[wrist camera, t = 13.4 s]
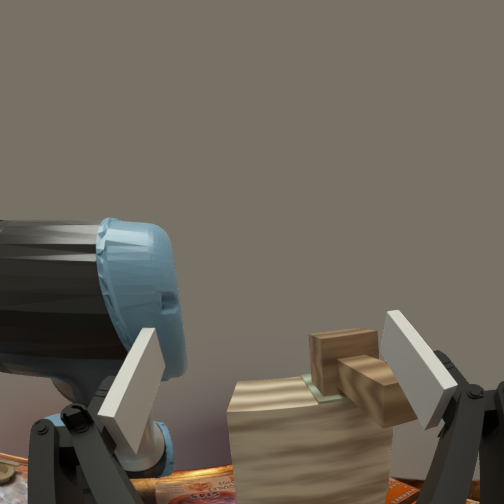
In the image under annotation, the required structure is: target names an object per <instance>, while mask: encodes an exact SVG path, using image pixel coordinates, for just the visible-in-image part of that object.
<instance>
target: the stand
mask: <svg viewBox="0 0 504 504" xmlns="http://www.w3.org/2000/svg"><path fill="white" fill-rule="evenodd" d="M227 419H228V429H229V437H230V447H231V455H232V464H233V473H234V481H235V488H236V496H237V503H238V504H385V500H386V494H387V487H388V479H389V471H390V461H391V450H392V437H393V426H392V427H388V428H385V429H383V428H382V427H381V426H380V425H378V424H377V423H376V422H375V421H374V420H373V419H372V418H371V417H369V416H368V415H367V414H366V413H365V412H364V411H363V410H362V409H361V408H360V407H358V406H357V405H356V404H355V403H354V402H353V401H352V400H351V399H350V398H349V397H347V396H346V395H345V394H339V395H333V396H326V397H323V395H322V394H321V393H320V392H319V390H318V389H317V388H316V386H315V385H314V384H313V382H312V381H311V373H310V374H301V377H293V378H282V379H270V380H256V381H238V382H237V385H236V388H235V391H234V394H233V396H232V399H231V402H230V404H229V407H228V410H227Z"/></svg>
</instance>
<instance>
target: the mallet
mask: <svg viewBox="0 0 504 504" xmlns="http://www.w3.org/2000/svg"><path fill="white" fill-rule="evenodd" d="M309 346H310V361H311V381H312V382H313V384H314V385H315V386H316V388H317V389H318V390H319V392H320V393H321V394H322V395H323V397H326V396H333V395H339V394H345V395H346V396H347V397H349V398H350V399H351V400H352V401H353V402H354V403H355V404H356V405H357V406H358V407H360V408H361V409H362V410H363V411H364V412H365V413H366V414H367V415H368V416H369V417H371V418H372V419H373V420H374V421H375V422H376V423H377V424H378V425H380V426H381V427H382V428H383V429H385V428H388V427H392V426H396V425H399V424H403V423H406V422H410V421H413V420H416V419H418V417H417V416H416V414H415V412H414V410H413V408H412V406H411V404H410V403H409V401H408V399H407V397H406V395H405V394H404V392H403V390H402V388H401V386H400V385H399V383H398V381H397V379H396V378H395V376H394V374H393V372H392V371H391V369H390V367H389V365H388V364H387V362H384V361H381V360H379V350H378V332H377V331H375V330H367V329H358V328H353V329H346V330H338V331H331V332H322V333H314V334H309Z"/></svg>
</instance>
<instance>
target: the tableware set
mask: <svg viewBox="0 0 504 504" xmlns="http://www.w3.org/2000/svg"><path fill="white" fill-rule="evenodd" d="M13 466H15V467H19V466H20V463H18V462H12V461H6V460H1V459H0V484H3V483H6V482H8V481H9V480H10V477H12V476H13V474H14V472H15V470H14V467H13Z"/></svg>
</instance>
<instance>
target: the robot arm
mask: <svg viewBox="0 0 504 504" xmlns="http://www.w3.org/2000/svg"><path fill="white" fill-rule="evenodd" d="M380 352H381V353H382V355H383V357H384V359H385V360H386V362H387V364H388V365H389V367H390V369H391V371H392V372H393V374H394V376H395V378H396V379H397V381H398V383H399V385H400V386H401V388H402V390H403V392H404V394H405V395H406V397H407V399H408V401H409V403H410V404H411V406H412V408H413V410H414V412H415V414H416V416H417V417H418V419H419V421H420V423H421V425H422V427H423V429H424V430H427V429H430V428H433V427H436V426H438V424H439V422H440V420H441V419H442V418H443V420H444V422H445V424H444V426H443V428H442V430H441V431H440V433H439V435H438V437H440V439H439V442H438V445H437V449H436V452H435V455H434V458H433V461H432V464H431V466H430V469H429V472H428V475H427V477H426V480H425V482H424V485H423V487H422V490H421V492H420V494H419V497H418V499H417V501H416V504H465V503H466V500H467V497H468V493H469V490H470V486H471V482H472V478H473V474H474V470H475V466H476V461H477V456H478V451H479V460H480V504H504V381H503V382H501V383H500V384H499V385H498V388H497V389H496V390H489V391H484V389H483V388H481V387H480V386H478V385H475V384H469V383H468V382H467V381H466V379H465V378H464V377H463V376H462V374H461V373H460V372H459V371H458V369H457V368H456V367H455V366H454V364H453V363H451V360H450V359H449V358H448V357H447V356H446V355H445V354H444V353H442V352H440V351H439V350H437V351H432V350H431V349H430V348H429V346H428V345H427V344H426V343H425V341H424V340H423V339H422V338H421V337H420V335H419V334H418V333H417V332H416V330H415V329H414V328H413V327H412V325H411V324H410V323H409V322H408V321H407V319H406V318H405V317H404V316H403V315H402V314H401V312H400V311H399V310H394V311H387V314H386V320H385V326H384V332H383V337H382V342H381V347H380ZM186 370H187V354H186V345H185V338H184V329H183V322H182V314H181V306H180V299H179V291H178V284H177V277H176V270H175V262H174V256H173V250H172V245H171V241H170V239H169V237H168V235H167V233H166V232H165V231H164V230H163V229H162V228H160V227H159V226H156V225H154V224H150V223H138V222H123V221H120V220H118V219H116V218H105V219H104V220H103V221H58V220H13V221H4V220H0V372H3V373H10V374H17V375H25V376H35V377H46V378H50V379H51V380H52V382H53V384H54V385H55V387H56V388H57V390H58V391H59V392H60V393H61V394H62V395H63V397H64V398H66V399H67V400H68V401H69V402H71V403H72V404H70V405H68V406H66V407H65V408H64V409H63V410H62V412H61V413H60V414H55V415H51V416H48V417H46V418H44V419H41V420H38V421H37V422H35V423H34V425H33V426H32V428H31V434H30V444H29V458H28V504H144V502H143V501H142V499H141V498H140V496H139V494H138V493H137V491H136V489H135V488H134V486H133V484H132V483H131V481H130V479H140V478H161V477H166V476H169V475H171V474H172V473H173V471H174V451H173V445H172V441H171V437H170V433H169V430H168V429H167V427H166V425H165V424H164V423H162V422H156V421H153V414H152V404H153V401H154V398H155V395H156V393H157V389H158V387H159V384H160V382H161V381H168V380H169V379H170V378H176V377H180V376H182V375H183V374H184V373H185V372H186ZM440 435H441V436H440Z"/></svg>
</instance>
